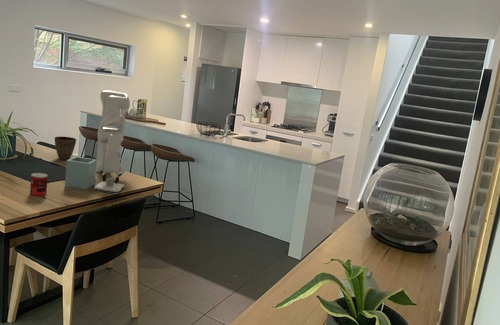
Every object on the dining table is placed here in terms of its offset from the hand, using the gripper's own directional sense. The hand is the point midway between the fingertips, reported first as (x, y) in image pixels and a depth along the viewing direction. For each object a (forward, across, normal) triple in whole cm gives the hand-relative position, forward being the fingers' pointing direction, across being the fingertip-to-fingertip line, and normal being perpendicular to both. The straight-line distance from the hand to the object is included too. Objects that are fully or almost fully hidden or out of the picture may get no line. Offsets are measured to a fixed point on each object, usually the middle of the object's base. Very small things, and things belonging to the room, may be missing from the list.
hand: (110, 182), depth 237 cm
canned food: (+5, +30, +27) cm, 41 cm away
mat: (+5, 0, 0) cm, 5 cm away
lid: (+3, 0, 0) cm, 3 cm away
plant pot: (+5, +53, -59) cm, 79 cm away
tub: (+5, +18, 0) cm, 19 cm away
